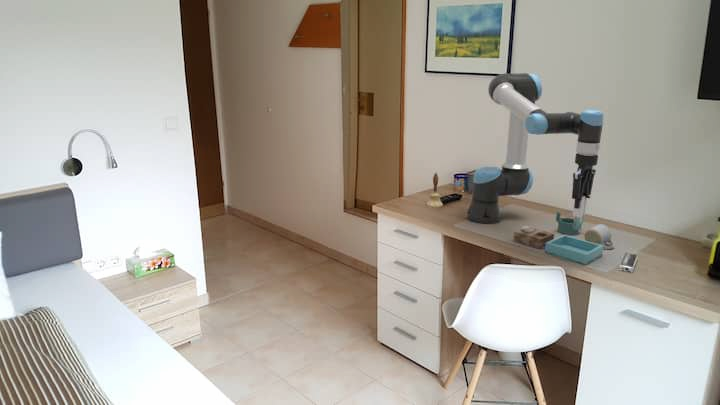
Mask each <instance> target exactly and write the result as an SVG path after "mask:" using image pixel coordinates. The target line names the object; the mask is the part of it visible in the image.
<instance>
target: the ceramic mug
mask: <svg viewBox="0 0 720 405" xmlns="http://www.w3.org/2000/svg"><path fill="white" fill-rule="evenodd" d="M584 240H585V241H588V242H592V243H596V244H599V245H603V249H606V250H612V249H613V248H614V246H615V243H614V241H613V240H612V231H611V230H610V228H609V227H608V226H607V225H605V224H602V223H600V224H597V225H595V226H592V227H590V228H589V229H587V230H586V231H585V233H584ZM607 243H608V244H609V245H610V246H609V245H607Z"/></svg>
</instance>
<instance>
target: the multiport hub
mask: <svg viewBox="0 0 720 405" xmlns="http://www.w3.org/2000/svg"><path fill="white" fill-rule="evenodd" d="M637 261H638V255H637V254H634V253H628V252H624V254H623V256H622V259H621V261H620V262H619V266H618V270H619V269H623V270H626V271H630V272H632V273H633V272H634V269H635V267H634V266H636V263H637ZM626 271H625V272H626ZM630 272H629V273H630Z"/></svg>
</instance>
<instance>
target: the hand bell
mask: <svg viewBox="0 0 720 405" xmlns="http://www.w3.org/2000/svg"><path fill="white" fill-rule="evenodd" d="M432 182H433V183H432V184H433V192H432V193H430V196H429V199H428V201H427V202H426V204H425V205H426V206H428V207H432V208H439V207H443V206H444V204H443V202H442V201H441V197H440V196H441V195H440V194H439V193H438V183H439V176H438V173H437V172H435V173H434V174H433V178H432Z"/></svg>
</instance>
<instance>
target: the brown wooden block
mask: <svg viewBox="0 0 720 405" xmlns="http://www.w3.org/2000/svg"><path fill="white" fill-rule="evenodd" d="M553 239H555V233H553V232H550V231H546V230H542V229H539V228H535V227H532V226H526V225H525V226H522V227H521V228H520V229H517V230H515V231H514V232H513V239H512V241H514V242H516V243H519V244H523V245H526V246H529V247H533V248H535V249H539V250H541V249H543V248H544V249H545V246H546V242H549V241H551V240H553Z"/></svg>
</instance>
